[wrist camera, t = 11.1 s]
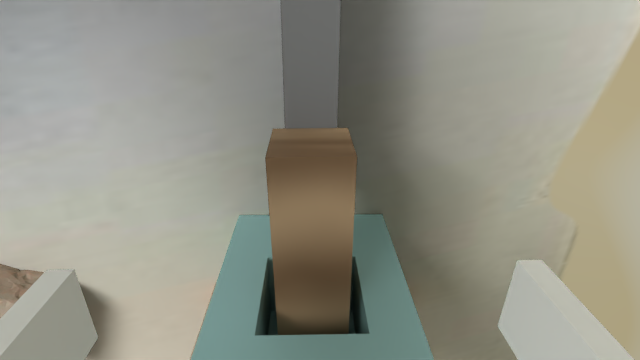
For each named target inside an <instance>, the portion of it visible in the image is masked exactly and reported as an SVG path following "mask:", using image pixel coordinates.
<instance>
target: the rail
mask: <svg viewBox="0 0 640 360" xmlns="http://www.w3.org/2000/svg"><path fill="white" fill-rule="evenodd" d="M340 8H341V0H281V27H282V56H283V85H284V115H285V129H290V128H337V118H338V81H339V45H340Z"/></svg>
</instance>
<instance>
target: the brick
mask: <svg viewBox="0 0 640 360" xmlns="http://www.w3.org/2000/svg"><path fill="white" fill-rule="evenodd" d="M43 273H44V272H38V271H31V270H21V271H20V270H19V269H16V268H12V267H9V266H6V265H2V264H0V318H1V317H2V316H3V315H4V314H5V313H6V312H7V311H8V310H9V309H10V308H11V307H12V306H13V305H14V304H15V303H16V302H17V301H18V300H19V298H20V297H21V296H22V295H23V294H24V293H25V292H26V291H27V290H28V289H29V288H30V287H31V286H32V285H33V284H34V283H35V282H36V281H37V280H38V279H39V277H40V276H41V275H42V274H43Z"/></svg>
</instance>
